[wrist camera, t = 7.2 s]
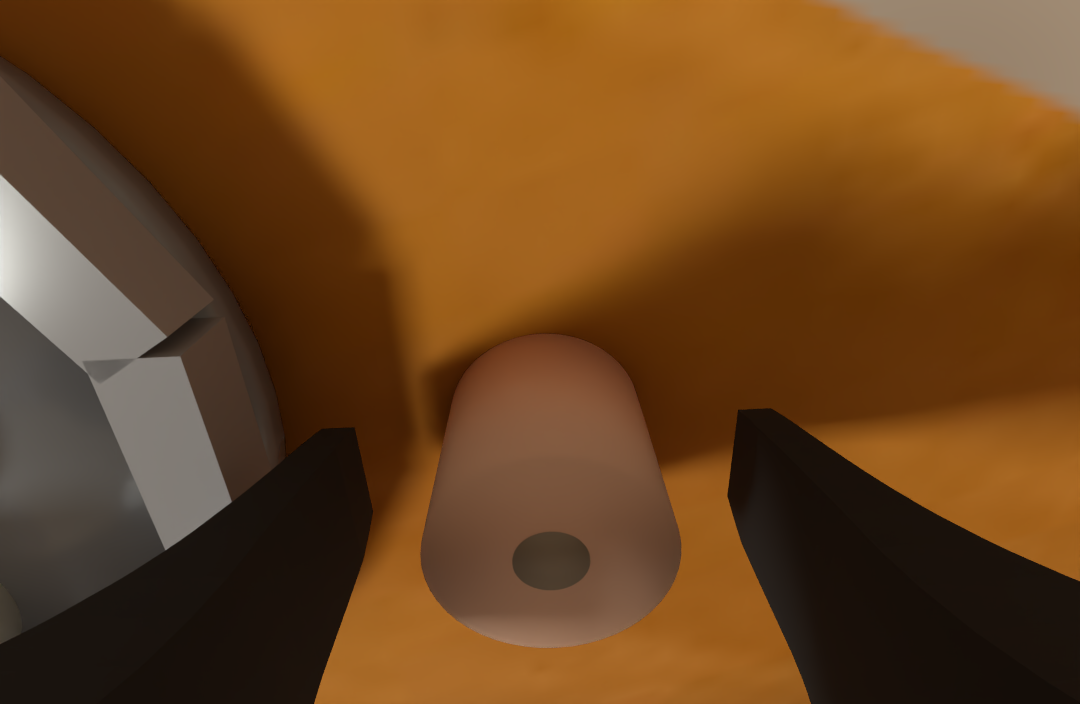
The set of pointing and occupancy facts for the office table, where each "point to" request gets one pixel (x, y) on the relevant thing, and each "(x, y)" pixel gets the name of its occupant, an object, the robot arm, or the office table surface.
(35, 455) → the tray
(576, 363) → the bead terracotta
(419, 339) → the office table surface
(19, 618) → the bead cream
